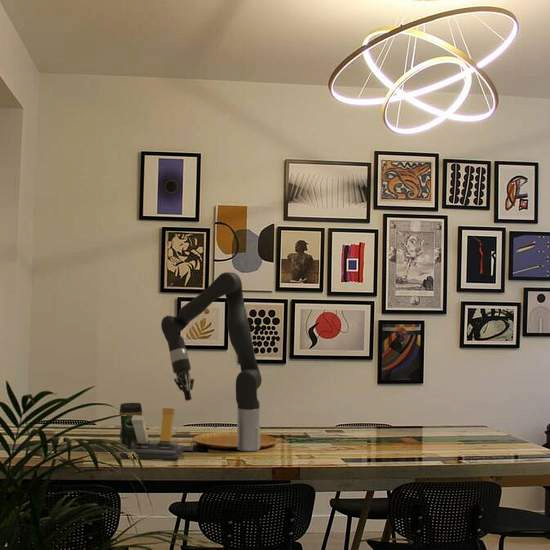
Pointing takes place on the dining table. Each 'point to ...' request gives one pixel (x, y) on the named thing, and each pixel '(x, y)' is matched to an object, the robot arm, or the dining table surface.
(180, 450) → the breaker panel
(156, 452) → the grey flat bar
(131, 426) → the coffee jar
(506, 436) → the dining table surface
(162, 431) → the breaker lever
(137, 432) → the lever
